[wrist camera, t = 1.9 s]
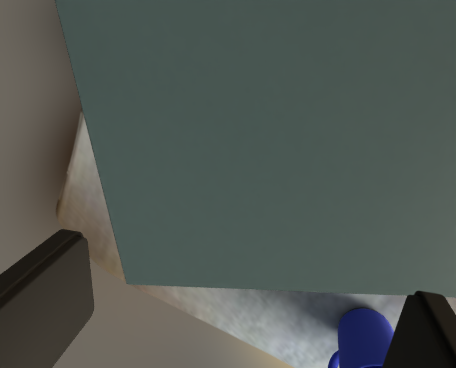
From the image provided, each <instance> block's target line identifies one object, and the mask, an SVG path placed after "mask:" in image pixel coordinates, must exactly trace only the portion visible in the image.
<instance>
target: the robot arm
mask: <svg viewBox="0 0 456 368" xmlns="http://www.w3.org/2000/svg"><path fill="white" fill-rule="evenodd" d="M93 311H94V299H93V289H92V280H91V270H90V261H89V250H88V242H87V239H86V238H84V237H83V234H82V233H81V232H77V231H71V230H65V229H61V230H59V231H58V232H56V233H55V234H54V235H52V236H51V237H50V238H48V239H47V240H46V241H44V242H43V243H42V244H40V245H39V246H38V247H36V248H35V249H34V250H33V251H31V252H30V253H28V254H27V255H26V256H24V257H23V258H22V259H20V260H19V261H18V262H17V263H15V264H14V265H12V266H11V267H10V268H9V269H7V270H6V271H4V272H3V273H2V274H1V275H0V368H52V367H53V366H54V364H55V363H56V362H57V360H58V359H59V358H60V357H61V355H62V354H63V353H64V352H65V350H66V349H67V348H68V346H69V345H70V344H71V342H72V341H73V340H74V339H75V337H76V336H77V335H78V333H79V332H80V331H81V329H82V328H83V327H84V326H85V324H86V323H87V322H88V320H89V319H90V317H91V316H92V314H93ZM382 368H456V315H455V313H454V311H453V310H452V308H451V306H450V305H449V303H448V302H447V300H446V298H445V297H444V296H443V295H441V294H437V293H431V292H425V291H416V292H415V293H414V295H408V296H407V298H406V301H405V304H404V306H403V309H402V312H401V315H400V318H399V321H398V323H397V326H396V329H395V332H394V335H393V337H392V340H391V343H390V346H389V349H388V352H387V354H386V357H385V360H384V363H383V366H382Z"/></svg>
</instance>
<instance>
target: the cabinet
mask: <svg viewBox="0 0 456 368" xmlns="http://www.w3.org/2000/svg"><path fill="white" fill-rule="evenodd" d="M55 3H56V6H57V10H58V14H59V18H60V22H61V26H62V30H63V34H64V38H65V42H66V46H67V50H68V54H69V58H70V62H71V65H72V70H73V74H74V78H75V81H76V86H77V89H78V93H79V97H80V101H81V105H82V109H83V113H84V117H85V121H86V125H87V129H88V133H89V137H90V141H91V145H92V149H93V153H94V157H95V161H96V165H97V169H98V172H99V176H100V180H101V184H102V188H103V192H104V196H105V200H106V204H107V208H108V212H109V216H110V220H111V224H112V228H113V232H114V236H115V240H116V244H117V248H118V252H119V255H120V259H121V263H122V267H123V271H124V275H125V279H126V283H127V284H133V285H158V286H182V287H207V288H232V289H256V290H281V291H306V292H330V293H355V294H380V295H405V296H408V295H414V293H415V292H416V291H425V292H431V293H437V294H441V295H443V296H444V297H454V298H456V0H55Z"/></svg>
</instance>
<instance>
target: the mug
mask: <svg viewBox="0 0 456 368" xmlns="http://www.w3.org/2000/svg"><path fill="white" fill-rule="evenodd" d="M393 335H394V332H393V329H392V327H391V325H390V324H389V322H388V321H387V320H386V318H385V317H384V316H382V315H381V314H380V313H378V312H376V311H374V310H370V309H355V310H352V311H349V312H348V313H346V314H345V315H344V316H343V317H342V318H341V320H340V322H339V325H338V347H339V350H338V351H337V352H335V353H334V354H333V355H332V357H331V359H330V361H329V365H328V368H337V367H338V365H339V368H382V366H383V363H384V360H385V357H386V354H387V352H388V349H389V346H390V343H391V340H392V337H393Z"/></svg>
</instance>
